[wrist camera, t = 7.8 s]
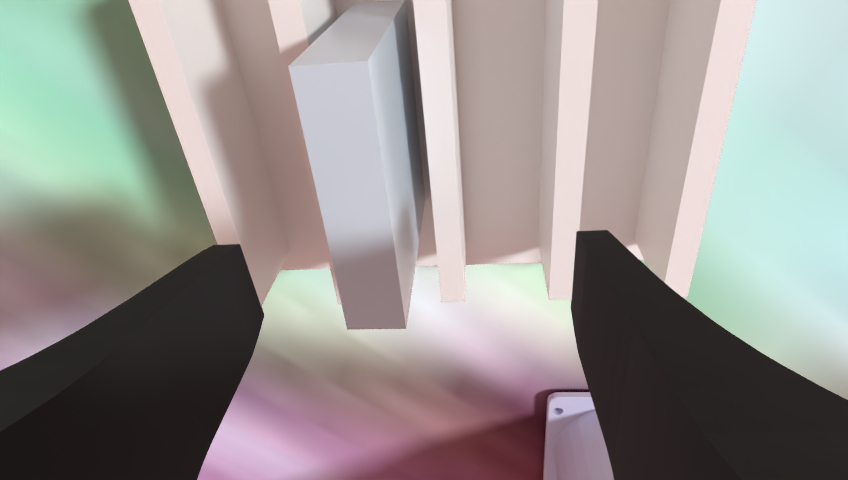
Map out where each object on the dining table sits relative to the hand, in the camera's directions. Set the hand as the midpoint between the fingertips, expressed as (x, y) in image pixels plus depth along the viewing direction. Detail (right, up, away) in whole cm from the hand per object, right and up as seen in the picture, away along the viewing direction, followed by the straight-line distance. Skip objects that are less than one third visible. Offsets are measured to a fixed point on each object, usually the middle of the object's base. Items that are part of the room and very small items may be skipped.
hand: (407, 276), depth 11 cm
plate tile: (-1, +5, +7) cm, 8 cm away
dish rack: (+1, +6, +7) cm, 9 cm away
